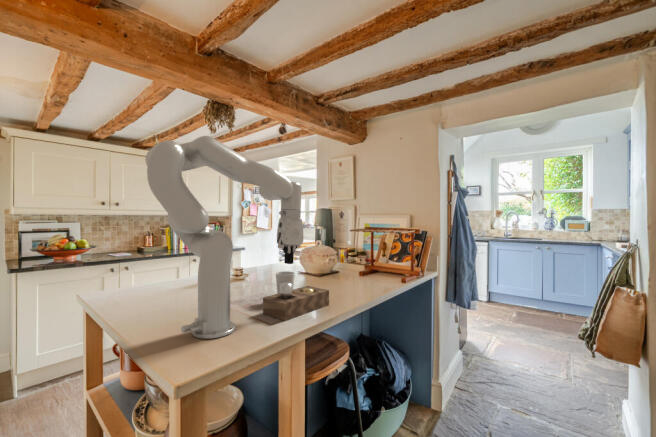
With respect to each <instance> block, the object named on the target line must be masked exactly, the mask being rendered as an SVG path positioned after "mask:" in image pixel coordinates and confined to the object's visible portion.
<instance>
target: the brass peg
mask: <svg viewBox="0 0 656 437" xmlns="http://www.w3.org/2000/svg"><path fill="white" fill-rule="evenodd" d="M303 292H304V293H308V294H309V293H312V292H314V289H313V288H304V289H303Z"/></svg>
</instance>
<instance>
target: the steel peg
mask: <svg viewBox="0 0 656 437" xmlns="http://www.w3.org/2000/svg"><path fill="white" fill-rule="evenodd" d="M280 299H283V300H288V299H292V283H290V282H284V283H280Z"/></svg>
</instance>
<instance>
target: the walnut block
mask: <svg viewBox="0 0 656 437" xmlns="http://www.w3.org/2000/svg"><path fill="white" fill-rule="evenodd" d="M304 288H313V289H314V292H312V293H309V294H308V293H304V292H303V289H304ZM329 305H330V289H326V288H320V287H316V286H315V287H314V286H309V285H305V286H301V287H298V288H293V290H292V299H288V300H283V299H280V293H278V294H277V293H276V294H270V295H268V296H264V297H262V314H263V315H265V314H266V316H268V315H269V316H268V317H271V316H272V318H274V317H275V318H274V319H277V318H278V319H277V320H280V319H281V320H280V321H283V322H287V321H289V320H292V319H295V318H297V317H300V316H303V315H306V314H309V313H312V312H314V311H316V310H319V309H322V308H324V307H327V306H329Z"/></svg>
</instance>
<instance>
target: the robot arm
mask: <svg viewBox="0 0 656 437" xmlns="http://www.w3.org/2000/svg"><path fill="white" fill-rule="evenodd" d="M145 155H146V156H145V164H146V166H147V168H146V176H147V183H148V185H149V188H150V190H151V193H152V194H153V196H154V197H155V198H156V200H157V201H158V202H159V204H160V205H161V206H162V208H163V209H164V211H166V213H167V216H166V217H167V223H168V225H169V227H170V229H171V230H172V231H173V232H174V235H176V236H177V238H178V239H179V240H180V241H181V242H182V243H183V245H185V247H186V248H188V251H190V252H191V253H192V254H193V255H194V256H196V257H198V258H199V262H198V268H197V269H198V270H197V318H194V321H193V322H192V323H191V324H186V325H182V326H181V327H180V331H181V333H182V334H184V333H188V332H189V333H190V334H191V335H192V336H193V337H194V338H198V339H202V340H203V339H204V340H205V339H207V340H208V339H210V340H211V339H217V338H222V337H226V336H228V335H230V334H232V333H234V332H235V330H236V328H237V327H236V326H237V325H236V323H235V322H233V321H231V266H232V259H233V250H234V244H233V241H232V238H231V237H230V236H229V235H228V234H227V233H226V232H224V231H222V230H219V229H218V230H217V229H211V227H210V226H209V222H210V217H209V214H208V212H207V210H206V209H205V208H204V206H203V205H202V204H201V203H200V202H199V201H198V200H197V197H196V196H194V194H193V193H192V192H191V190H190V188H189V187H188V186H187V185H186V183H185V180H184V178H183V173H182V172H187V171H191V170H196V169H199V168H203V167H208V168H210V169H212V170H214V171H216V172H218V173H219V174H221V175H222V176H225V177H226V178H228V179H230V180H231V181H234V182H238V183H242V184H249V185H253V186H257V187H259V188H258V192H259V195H260V196H261V198H263V199H264V200H266V201H279V200H280V210H279V212H278V214H279V215H280V217H279V219H278V223H277V230H276V243H277V249H279V250H280V249H281V250H282V252H283V253H284V264H287V265H293V264H294V255H295V253H296V250H298V249H299V248H301V245H302V244H304V225H303V219H302V217H301V215H302V214H301V212H302V210H301V209H302V184H301V183H300V182H297V181H291V180H290V179H289V178H288V177H287V176H285V175H284V174H282V173H281V172H279V171H277V170H276V169H274V168H272V167H270V166H268V165H264V164H262V163H260V162H257V161H255V160H252V159H250V158H247V157H245V156H243V155H242V154H240V153H239V152H237V151H235V150H234V149H232V148H230V146H229V147H228V146H227V145H226V144H224V143H223V142H221V141H219V140H218V139H217V138H214V137H212V136H209V135H202V136H199V137H196V138H195V139H193V140H192V141H190V142H189V141H188V142H185V143H178V142H177V141H174V140H171V139H170V140H169V139H168V140H166V139H165V140H161V141H160V142H158V143H156V144H154V146H153V147H152V148H150V149H149V150H148V151H147V152H146V154H145Z"/></svg>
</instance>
